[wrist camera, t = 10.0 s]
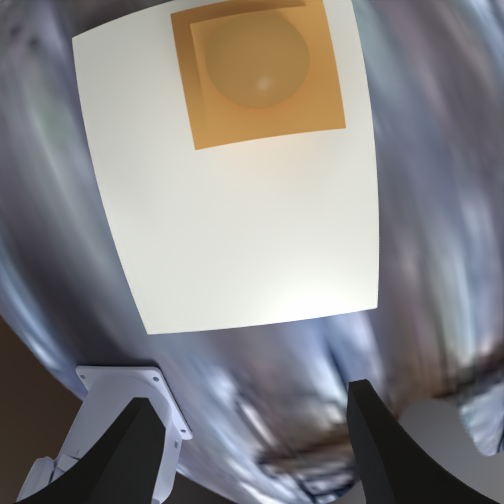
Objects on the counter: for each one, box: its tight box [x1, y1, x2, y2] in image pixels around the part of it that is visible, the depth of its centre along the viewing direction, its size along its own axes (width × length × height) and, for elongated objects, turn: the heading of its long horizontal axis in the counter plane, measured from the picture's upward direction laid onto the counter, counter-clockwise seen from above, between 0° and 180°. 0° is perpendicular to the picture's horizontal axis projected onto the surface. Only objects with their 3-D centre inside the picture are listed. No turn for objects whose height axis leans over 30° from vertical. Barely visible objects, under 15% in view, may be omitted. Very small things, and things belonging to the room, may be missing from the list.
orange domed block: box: [170, 0, 346, 150], centre depth 10 cm, size 5×5×6 cm
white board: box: [72, 0, 379, 334], centre depth 15 cm, size 18×14×2 cm
